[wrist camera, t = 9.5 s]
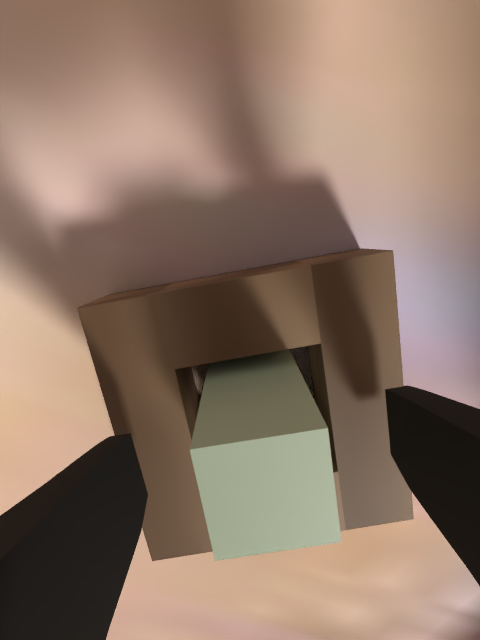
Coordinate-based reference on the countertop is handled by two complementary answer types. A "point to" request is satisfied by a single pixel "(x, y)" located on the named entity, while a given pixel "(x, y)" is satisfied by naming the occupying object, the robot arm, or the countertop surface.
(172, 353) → the brown square frame
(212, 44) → the countertop surface
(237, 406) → the sage peg
